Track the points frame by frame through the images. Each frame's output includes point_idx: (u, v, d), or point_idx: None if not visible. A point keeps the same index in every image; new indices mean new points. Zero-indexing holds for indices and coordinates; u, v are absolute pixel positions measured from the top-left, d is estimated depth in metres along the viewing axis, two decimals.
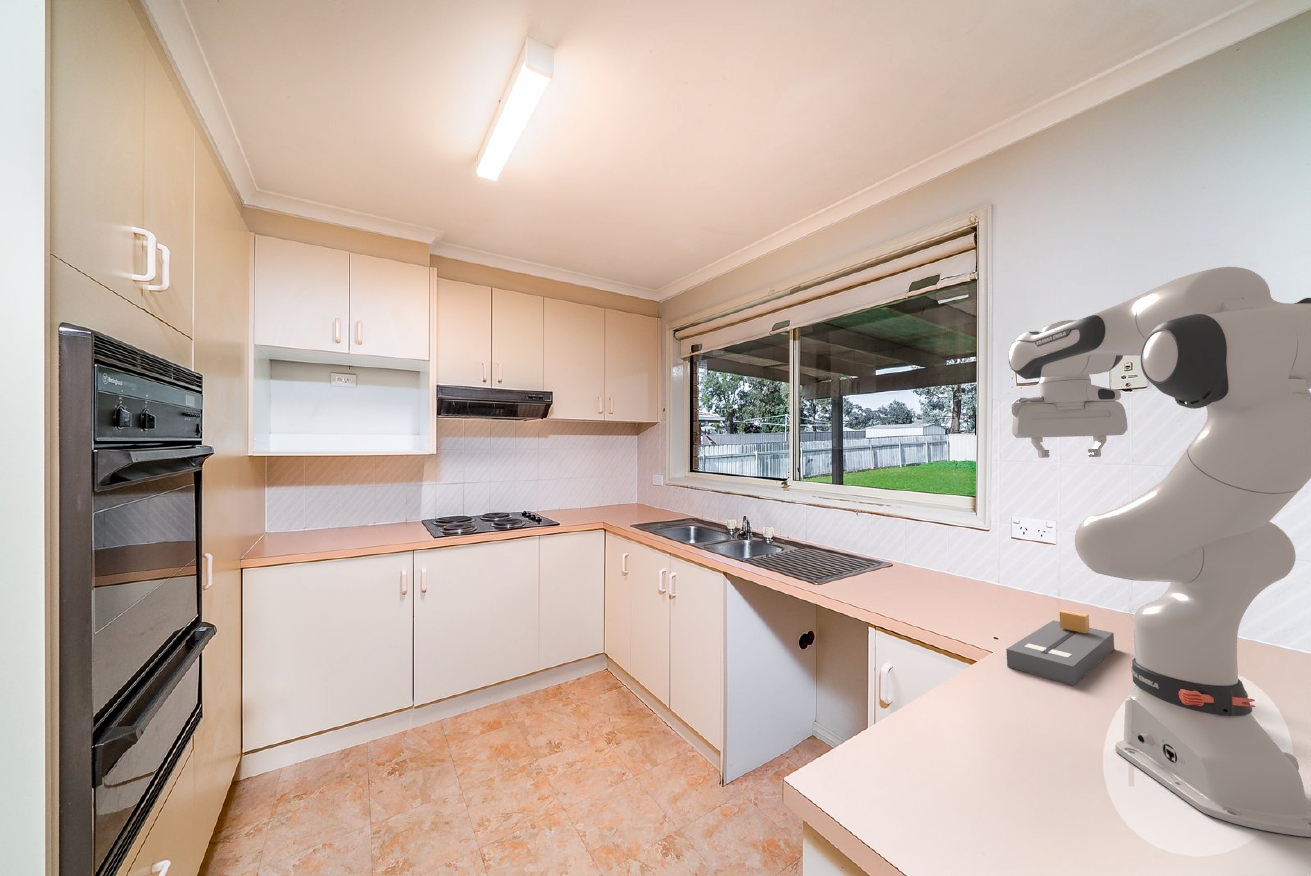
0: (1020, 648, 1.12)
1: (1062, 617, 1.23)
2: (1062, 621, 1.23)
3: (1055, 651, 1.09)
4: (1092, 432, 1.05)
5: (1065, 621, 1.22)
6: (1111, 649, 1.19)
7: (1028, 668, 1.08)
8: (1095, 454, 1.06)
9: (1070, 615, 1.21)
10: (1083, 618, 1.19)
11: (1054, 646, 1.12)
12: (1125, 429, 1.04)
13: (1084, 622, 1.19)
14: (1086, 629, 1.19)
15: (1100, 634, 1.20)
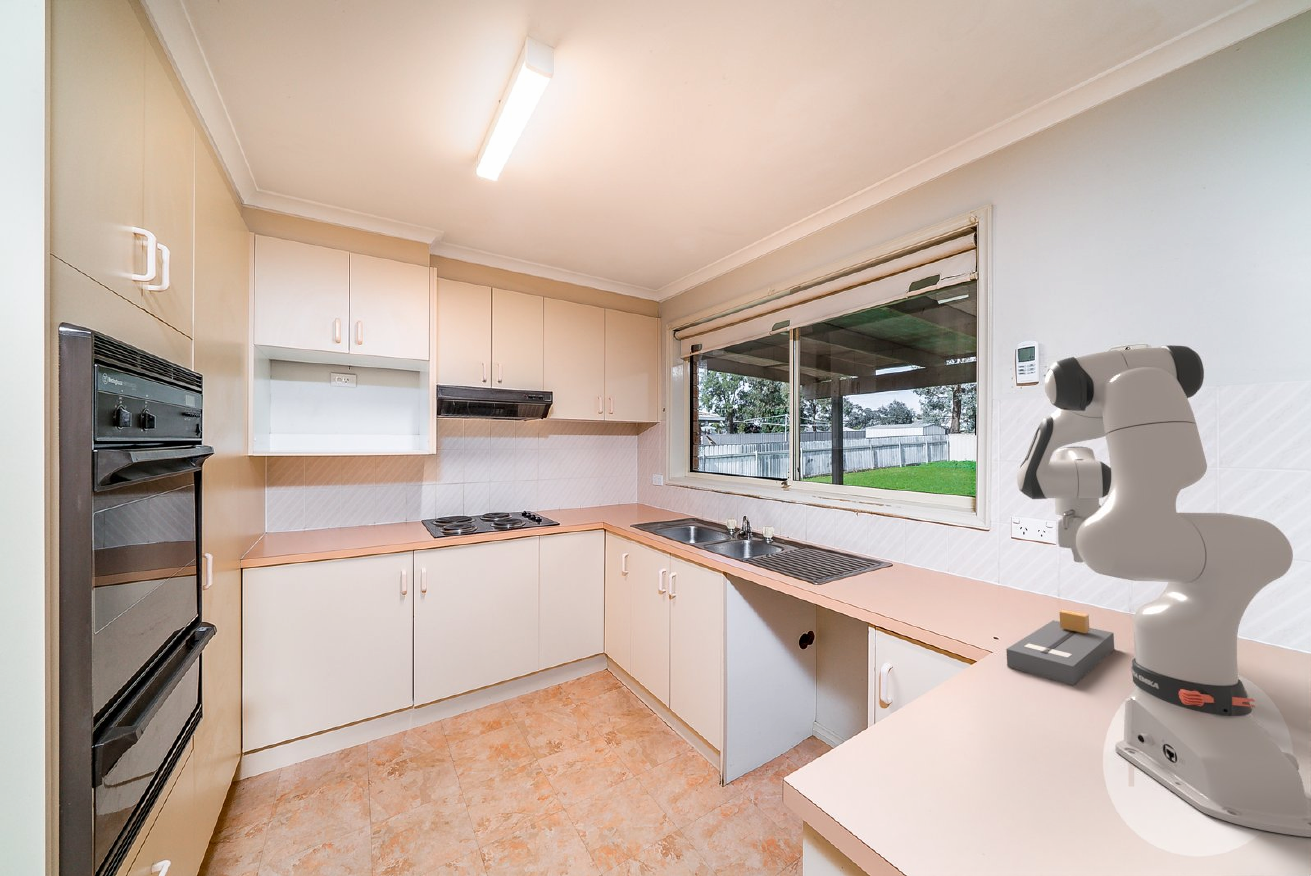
0: (1020, 648, 1.12)
1: (1062, 617, 1.23)
2: (1062, 621, 1.23)
3: (1055, 651, 1.09)
4: None
5: (1065, 621, 1.22)
6: (1111, 649, 1.19)
7: (1028, 668, 1.08)
8: None
9: (1070, 615, 1.21)
10: (1083, 618, 1.19)
11: (1054, 646, 1.12)
12: None
13: (1084, 622, 1.19)
14: (1086, 629, 1.19)
15: (1100, 634, 1.20)
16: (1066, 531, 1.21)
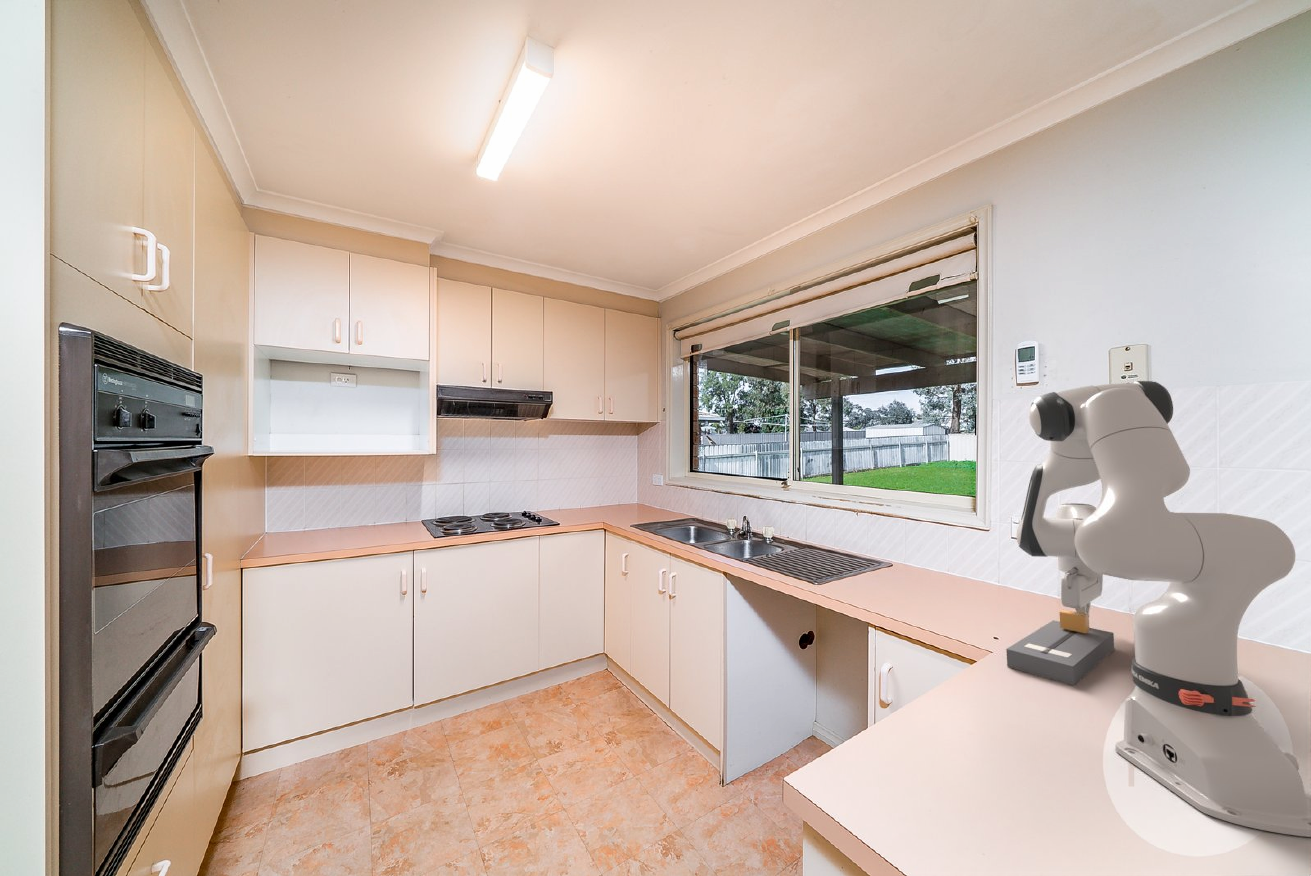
0: (1020, 648, 1.12)
1: (1062, 617, 1.23)
2: (1062, 621, 1.23)
3: (1055, 651, 1.09)
4: (1095, 597, 1.27)
5: (1065, 621, 1.22)
6: (1111, 649, 1.19)
7: (1028, 668, 1.08)
8: None
9: (1070, 615, 1.21)
10: (1083, 618, 1.19)
11: (1054, 646, 1.12)
12: (1101, 591, 1.30)
13: (1084, 622, 1.19)
14: (1086, 629, 1.19)
15: (1100, 634, 1.20)
16: (1069, 591, 1.21)
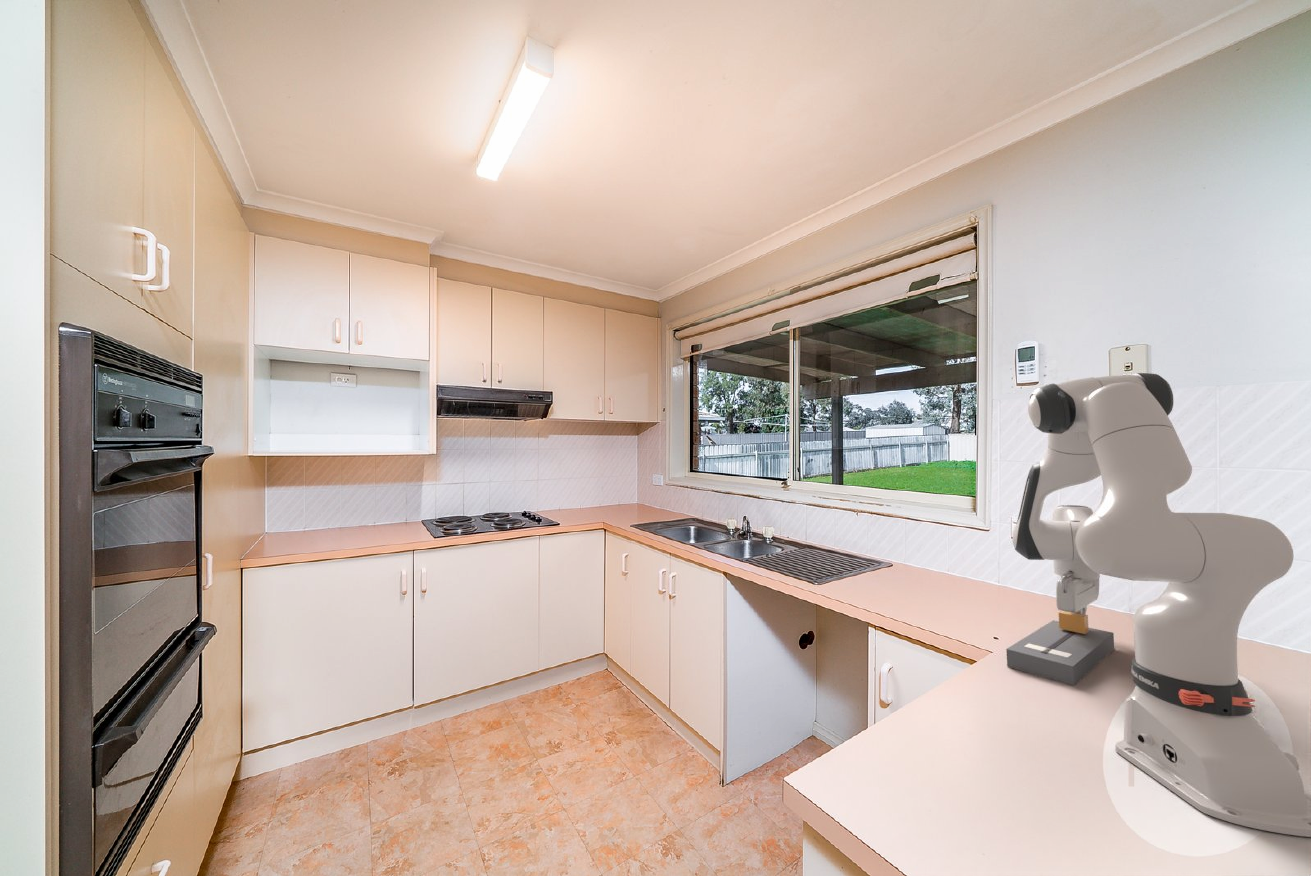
0: (1020, 648, 1.12)
1: (1061, 617, 1.22)
2: (1061, 622, 1.22)
3: (1055, 651, 1.09)
4: (1091, 601, 1.24)
5: (1064, 621, 1.22)
6: (1111, 649, 1.19)
7: (1028, 668, 1.08)
8: None
9: (1069, 616, 1.21)
10: (1082, 619, 1.19)
11: (1054, 646, 1.12)
12: None
13: (1083, 623, 1.19)
14: (1085, 630, 1.19)
15: (1100, 634, 1.20)
16: (1065, 594, 1.18)
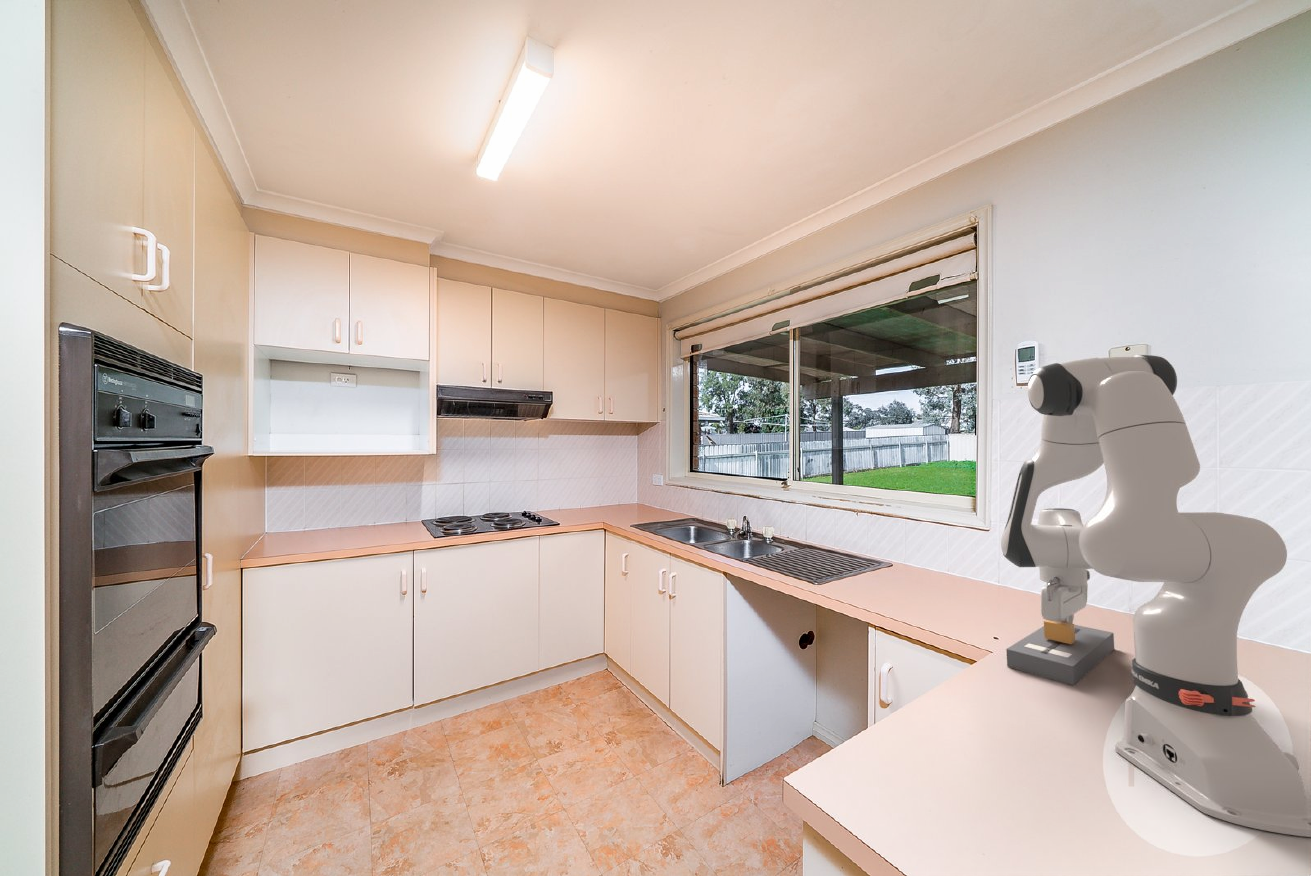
0: (1020, 648, 1.12)
1: (1047, 627, 1.16)
2: (1046, 631, 1.16)
3: (1055, 651, 1.09)
4: (1079, 609, 1.18)
5: (1050, 631, 1.16)
6: (1111, 649, 1.19)
7: (1028, 668, 1.08)
8: None
9: (1055, 625, 1.15)
10: (1068, 628, 1.13)
11: (1054, 646, 1.12)
12: (1086, 602, 1.21)
13: (1069, 632, 1.13)
14: (1071, 640, 1.13)
15: (1100, 634, 1.20)
16: (1050, 602, 1.12)
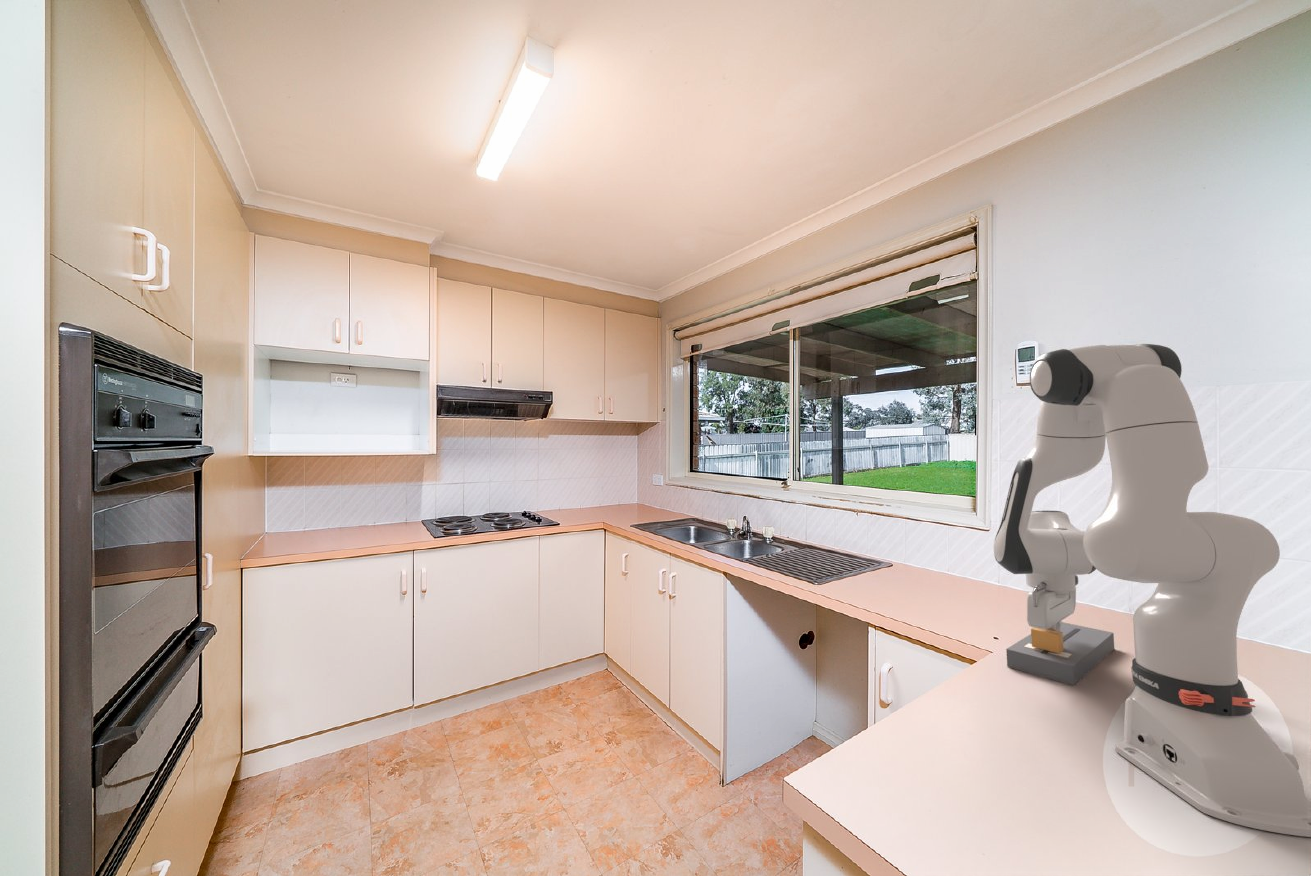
0: (1020, 648, 1.12)
1: (1034, 634, 1.11)
2: (1034, 639, 1.11)
3: None
4: (1066, 615, 1.13)
5: (1037, 639, 1.11)
6: (1111, 649, 1.19)
7: (1028, 668, 1.08)
8: None
9: (1042, 633, 1.10)
10: (1056, 636, 1.08)
11: None
12: (1074, 608, 1.17)
13: (1057, 641, 1.08)
14: (1059, 648, 1.08)
15: (1100, 634, 1.20)
16: (1036, 609, 1.07)
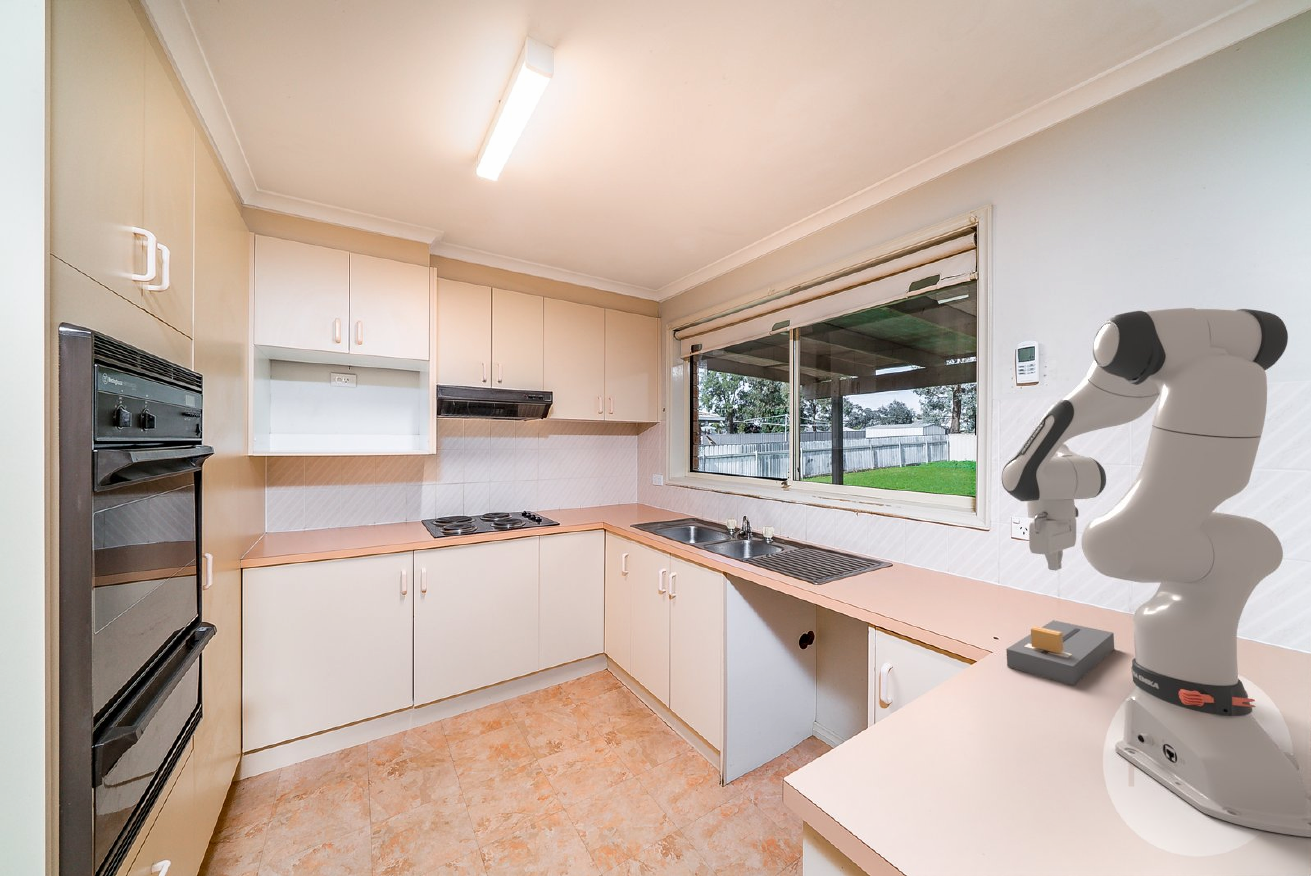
0: (1020, 648, 1.12)
1: (1034, 635, 1.11)
2: (1033, 639, 1.11)
3: None
4: (1067, 546, 1.16)
5: (1037, 639, 1.11)
6: (1111, 649, 1.19)
7: (1028, 668, 1.08)
8: (1059, 567, 1.15)
9: (1042, 633, 1.10)
10: (1056, 636, 1.08)
11: None
12: (1075, 541, 1.20)
13: (1057, 641, 1.08)
14: (1059, 649, 1.08)
15: (1100, 634, 1.20)
16: (1038, 535, 1.10)
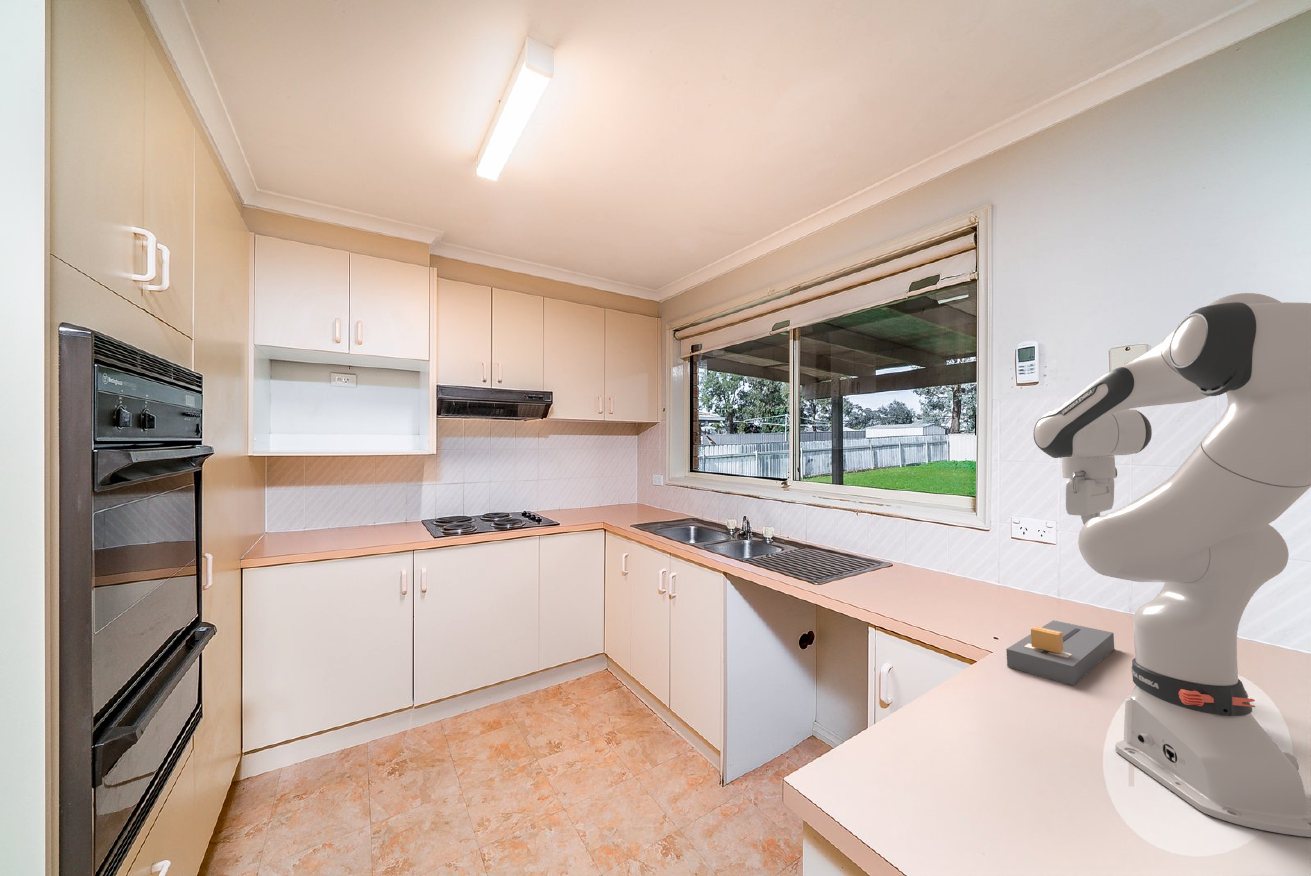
0: (1020, 648, 1.12)
1: (1034, 635, 1.11)
2: (1033, 639, 1.11)
3: None
4: (1105, 508, 1.08)
5: (1037, 639, 1.11)
6: (1111, 649, 1.19)
7: (1028, 668, 1.08)
8: None
9: (1042, 633, 1.10)
10: (1056, 636, 1.08)
11: None
12: None
13: (1057, 641, 1.08)
14: (1059, 649, 1.08)
15: (1100, 634, 1.20)
16: (1076, 495, 1.02)
